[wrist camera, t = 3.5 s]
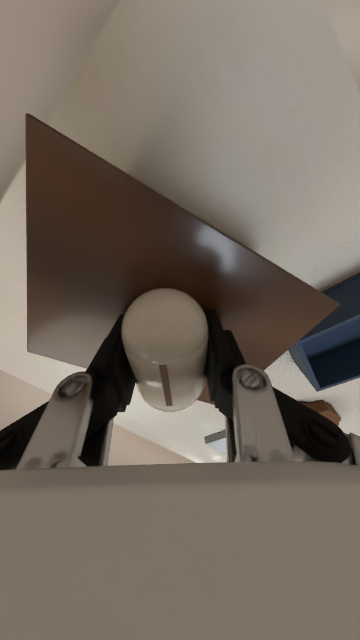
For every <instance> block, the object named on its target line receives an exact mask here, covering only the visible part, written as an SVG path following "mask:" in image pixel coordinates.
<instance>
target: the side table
mask: <svg viewBox="0 0 360 640" xmlns="http://www.w3.org/2000/svg"><path fill="white" fill-rule="evenodd" d="M26 230H27V351H28V352H31V353H34V354H38V355H41V356H45V357H48V358H52V359H55V360H59V361H62V362H66V363H69V364H73V365H76V366H80V367H83V368H88V367H89V365H90V363H91V361H92V360H93V358H94V356H95V355H96V353H97V351H98V349H99V348H100V346H101V344H102V342H103V341H104V339H105V338H106V337H107V336H108V335H109V333H110V331H111V329H112V327H113V326H114V324H115V322H116V320H117V319H118V317H119V315H120V314H125V312H126V311H127V309H128V307H129V306H130V304H131V303H132V302H133V301H134V300H135V299H136V298H138V297H139V296H140V295H142V294H143V293H145V292H147V291H150V290H152V289H157V288H173V289H177V290H180V291H183V292H185V293H186V294H188V295H190V296H191V297H192V298H193V299H195V300H196V301H197V302H198V304H199V305H200V306H201V308H202V309H203V311H204V312H206V309H216V312H217V314H218V317H219V320H220V322H221V325H222V327H223V330H231V331H232V333H233V335H234V338H235V340H236V342H237V344H238V347H239V349H240V351H241V353H242V356H243V358H244V360H245V362H246V364H250V365H254V366H256V367H259V368H260V369H262V370H263V371H264V370H265V369H266V368H267V367H268V366H269V365H271V364H272V363H273V362H274V361H275V360H276V359H278V358H279V357H280V356H281V355H282V354H283V353H285V352H286V351H287V350H288V349H289V348H290V347H292V346H293V345H294V344H295V343H296V342H297V341H299V340H300V339H301V338H302V337H303V336H304V335H306V334H307V333H308V332H309V331H310V330H311V329H313V328H314V327H315V326H316V325H317V324H318V323H320V322H321V321H322V320H323V319H324V318H325V317H327V316H328V315H329V314H330V313H331V312H332V311H334V310H335V309H336V308H337V307H338V306H339V305H340V304H339V303H338V302H336V301H335V300H333V299H331V298H330V297H328V296H326V295H325V294H323V293H321V292H320V291H318V290H317V289H315V288H313V287H312V286H310V285H308V284H307V283H305V282H303V281H302V280H300V279H299V278H297V277H295V276H294V275H292V274H290V273H289V272H287V271H286V270H284V269H282V268H281V267H279V266H277V265H276V264H274V263H272V262H271V261H269V260H268V259H266V258H264V257H263V256H261V255H259V254H258V253H256V252H254V251H253V250H251V249H250V248H248V247H246V246H245V245H243V244H241V243H240V242H238V241H236V240H235V239H233V238H232V237H230V236H228V235H227V234H225V233H223V232H222V231H220V230H218V229H217V228H215V227H214V226H212V225H210V224H209V223H207V222H205V221H204V220H202V219H200V218H199V217H197V216H196V215H194V214H192V213H191V212H189V211H187V210H186V209H184V208H182V207H181V206H179V205H178V204H176V203H174V202H173V201H171V200H169V199H168V198H166V197H164V196H163V195H161V194H160V193H158V192H156V191H155V190H153V189H151V188H150V187H148V186H146V185H145V184H143V183H142V182H140V181H138V180H137V179H135V178H133V177H132V176H130V175H128V174H127V173H125V172H124V171H122V170H120V169H119V168H117V167H115V166H114V165H112V164H110V163H109V162H107V161H106V160H104V159H102V158H101V157H99V156H97V155H96V154H94V153H93V152H91V151H89V150H88V149H86V148H84V147H83V146H81V145H79V144H78V143H76V142H75V141H73V140H71V139H70V138H68V137H66V136H65V135H63V134H61V133H60V132H58V131H57V130H55V129H53V128H52V127H50V126H48V125H47V124H45V123H43V122H42V121H40V120H39V119H37V118H35V117H33V116H32V115H30V114H26ZM197 400H199V401H203V402H206V403H210V404H213V405H215V403H214V401H213V402H211V401H210V396H209V390H208V384H207V378H206V381H205V386H204V389H203V391H202V393H201V394H200V396H199V397H198V399H197Z"/></svg>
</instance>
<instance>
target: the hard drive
mask: <svg viewBox="0 0 360 640" xmlns="http://www.w3.org/2000/svg"><path fill="white" fill-rule="evenodd" d="M205 443H206V444H207V445H209V446H211V447H213V448H215V449H216V450H218V451H220V452H222V453H224V454H226V455H227V451H226V430H225V431H222V432H220V433H217V434H214V435H211V436H208V437H206V438H205Z"/></svg>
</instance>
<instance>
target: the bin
mask: <svg viewBox="0 0 360 640" xmlns="http://www.w3.org/2000/svg"><path fill="white" fill-rule="evenodd" d="M322 293H323V294H325V295H326V296H328V297H330V298H331V299H333V300H335V301H336V302H338V303H339V304H340V305H339V306H338V307H337V308H336V309H335V310H334V311H332V312H331V313H330V314H329V315H328V316H327V317H325V318H324V319H323V320H322V321H321V322H320V323H318V324H317V325H316V326H315V327H314V328H313V329H311V330H310V331H309V332H308V333H307V334H306V335H304V336H303V337H302V338H301V339H300V340H299V341H297V342H296V343H295V344H294V345H293V346H292V347H290V348H289V349H288V350H289V352H290V354H291V356H292V358H293V360H294V362H295V364H296V365H297V366H298V368H299V369H300V370H301V371H302V373H303V374H304V375H305V377H306V378H307V379H308V381H309V382H310V383H311V384H312V386H313V387H314V388H315V390H316V391H317V392H318V391H321V390H324V389H327V388H330V387H333V386H336V385H339V384H342V383H345V382H348V381H351V380H353V379H356V378H359V377H360V273H359V274H357V275H355V276H353V277H351V278H349V279H347V280H345V281H343V282H342V283H340V284H338V285H336V286H334V287H332V288H330V289H328V290H326V291H324V292H322Z"/></svg>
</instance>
